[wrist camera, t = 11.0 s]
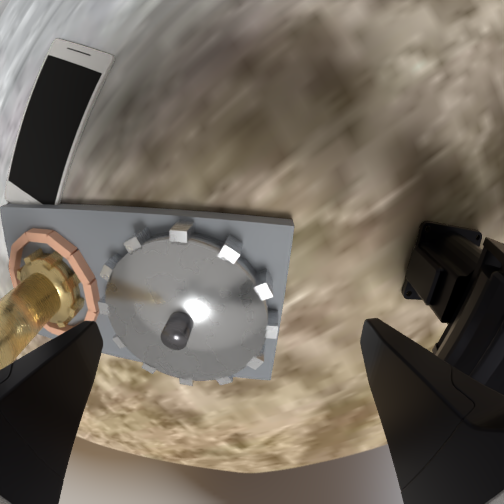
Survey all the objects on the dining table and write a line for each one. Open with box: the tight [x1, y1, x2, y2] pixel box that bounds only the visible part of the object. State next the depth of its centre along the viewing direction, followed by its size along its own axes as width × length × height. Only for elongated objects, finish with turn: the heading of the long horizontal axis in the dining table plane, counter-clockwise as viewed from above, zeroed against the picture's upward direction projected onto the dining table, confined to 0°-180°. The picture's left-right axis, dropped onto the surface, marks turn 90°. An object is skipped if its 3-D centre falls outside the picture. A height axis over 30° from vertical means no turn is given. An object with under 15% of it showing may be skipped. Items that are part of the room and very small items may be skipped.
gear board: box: [0, 203, 294, 380], centre depth 23 cm, size 26×14×2 cm, turn 86°
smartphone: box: [5, 38, 115, 205], centre depth 19 cm, size 7×16×1 cm, turn 150°
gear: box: [98, 220, 278, 386], centre depth 20 cm, size 13×13×4 cm
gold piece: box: [0, 249, 85, 370], centre depth 16 cm, size 7×7×13 cm
